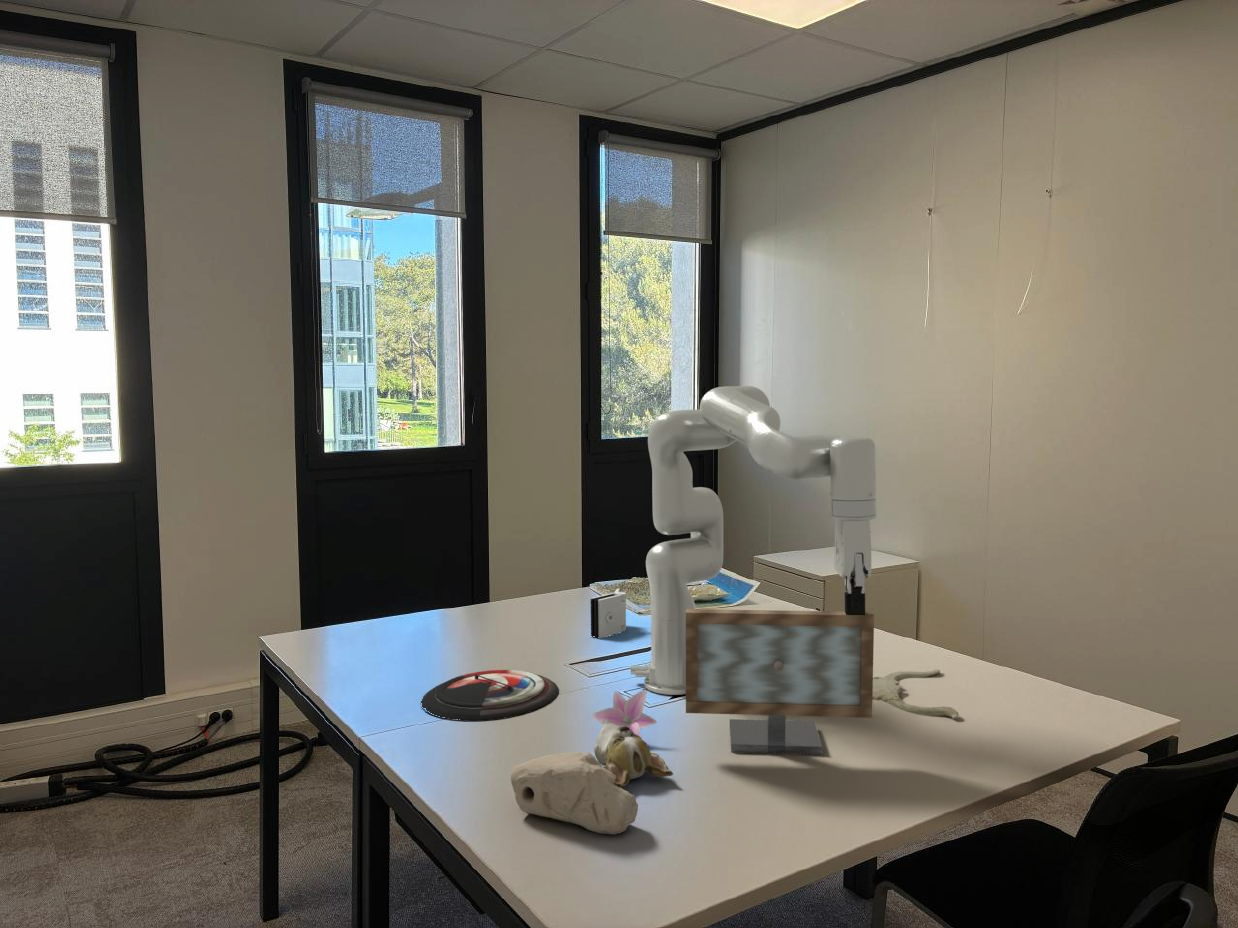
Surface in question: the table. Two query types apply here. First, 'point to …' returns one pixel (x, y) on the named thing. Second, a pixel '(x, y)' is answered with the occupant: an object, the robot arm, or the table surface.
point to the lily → (626, 712)
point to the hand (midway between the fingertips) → (855, 615)
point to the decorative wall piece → (890, 689)
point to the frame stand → (775, 736)
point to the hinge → (608, 614)
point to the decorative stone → (573, 792)
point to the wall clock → (490, 695)
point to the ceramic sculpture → (627, 754)
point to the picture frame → (779, 663)
